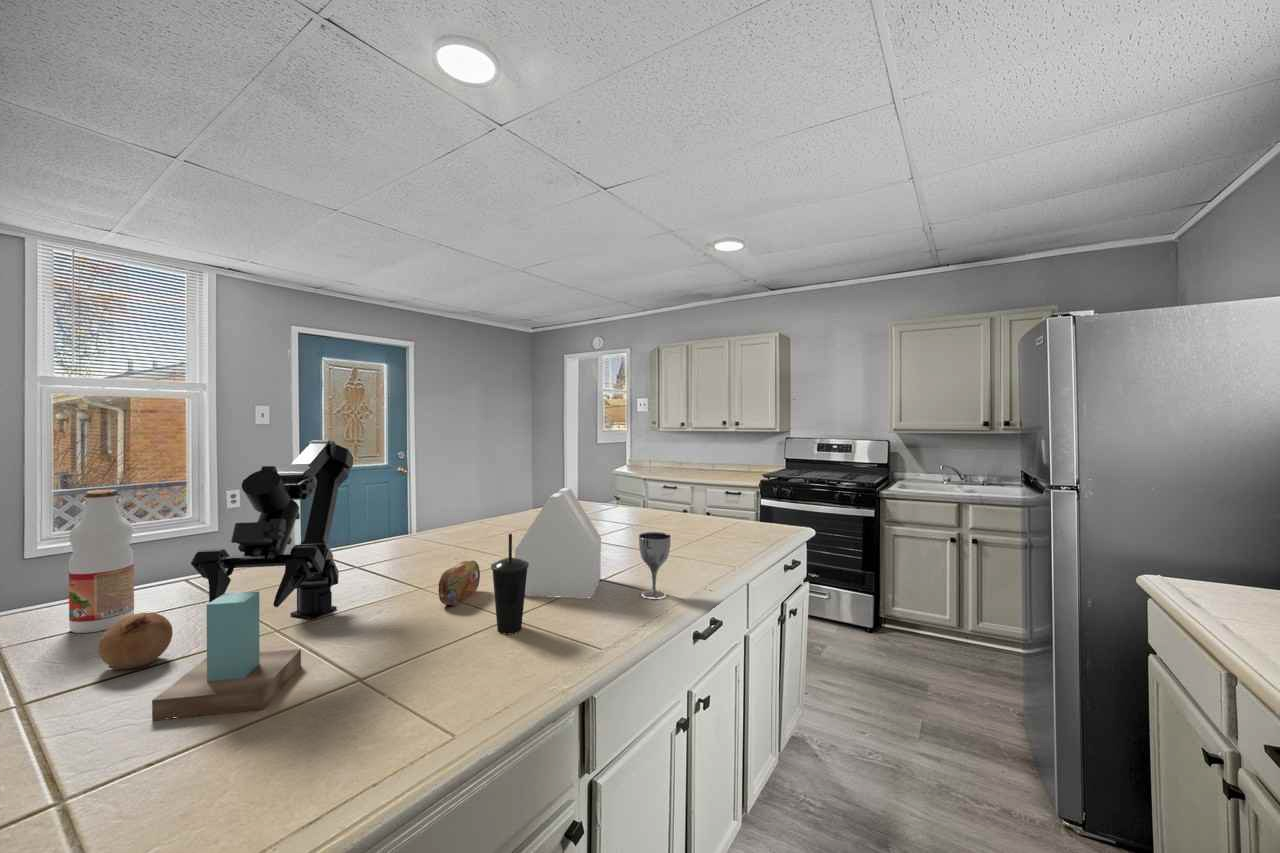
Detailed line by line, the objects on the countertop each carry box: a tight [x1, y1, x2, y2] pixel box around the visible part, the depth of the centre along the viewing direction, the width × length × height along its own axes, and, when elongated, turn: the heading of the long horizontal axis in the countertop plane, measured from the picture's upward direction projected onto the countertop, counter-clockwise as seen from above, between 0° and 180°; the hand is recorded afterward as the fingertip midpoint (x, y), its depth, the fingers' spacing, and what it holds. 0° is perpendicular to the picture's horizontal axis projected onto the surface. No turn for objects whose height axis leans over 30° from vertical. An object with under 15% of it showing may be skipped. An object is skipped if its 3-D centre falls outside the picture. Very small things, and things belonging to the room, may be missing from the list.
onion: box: [97, 611, 174, 670], centre depth 91 cm, size 10×9×10 cm
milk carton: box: [514, 487, 602, 598], centre depth 135 cm, size 19×15×25 cm
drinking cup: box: [490, 533, 529, 635], centre depth 108 cm, size 8×8×20 cm
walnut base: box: [151, 648, 302, 721], centre depth 83 cm, size 14×14×3 cm
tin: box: [438, 560, 481, 607], centre depth 126 cm, size 15×3×8 cm, turn 168°
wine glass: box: [638, 531, 672, 598], centre depth 130 cm, size 8×8×15 cm
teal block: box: [206, 591, 260, 681], centre depth 83 cm, size 5×5×12 cm
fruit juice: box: [68, 489, 135, 634], centre depth 108 cm, size 9×9×28 cm
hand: (244, 608), depth 86 cm, fingers open, 9 cm apart
